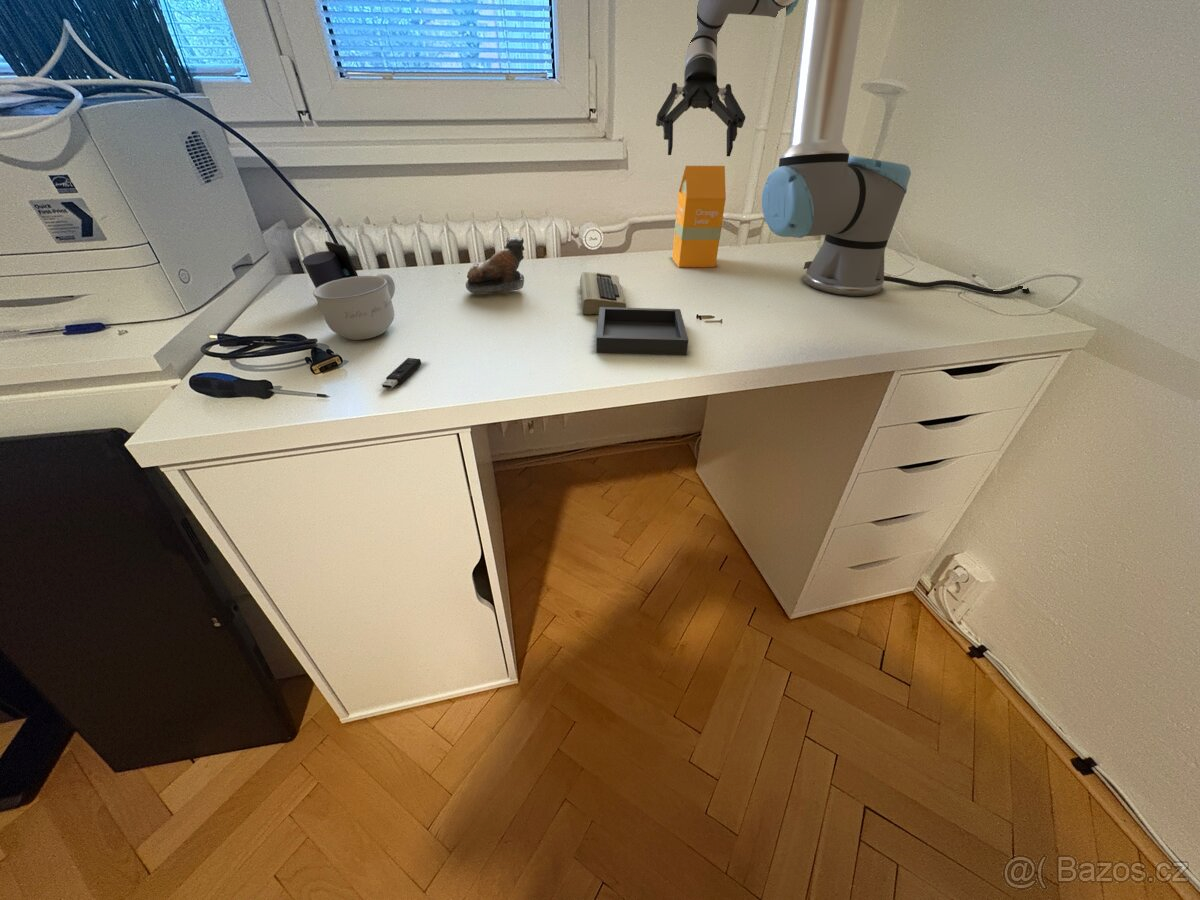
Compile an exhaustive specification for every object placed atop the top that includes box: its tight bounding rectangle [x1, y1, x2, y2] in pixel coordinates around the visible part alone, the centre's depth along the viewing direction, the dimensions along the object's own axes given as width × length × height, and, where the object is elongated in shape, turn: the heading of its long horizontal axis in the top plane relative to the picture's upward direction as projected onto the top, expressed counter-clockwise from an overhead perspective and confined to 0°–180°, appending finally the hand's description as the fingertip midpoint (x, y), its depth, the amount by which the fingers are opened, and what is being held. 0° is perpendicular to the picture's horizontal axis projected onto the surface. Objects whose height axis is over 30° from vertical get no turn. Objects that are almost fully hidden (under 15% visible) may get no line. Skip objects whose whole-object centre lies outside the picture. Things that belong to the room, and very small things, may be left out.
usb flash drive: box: [381, 357, 422, 389], centre depth 67 cm, size 8×2×1 cm, turn 170°
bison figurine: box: [465, 236, 526, 295], centre depth 93 cm, size 12×7×10 cm, turn 103°
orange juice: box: [671, 165, 727, 268], centre depth 109 cm, size 8×9×20 cm
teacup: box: [312, 273, 396, 341], centre depth 78 cm, size 14×11×8 cm
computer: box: [579, 271, 627, 315], centre depth 93 cm, size 16×8×3 cm, turn 3°
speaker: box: [301, 240, 359, 289], centre depth 88 cm, size 8×6×10 cm
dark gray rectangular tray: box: [595, 307, 689, 356], centre depth 79 cm, size 14×13×2 cm
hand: (699, 151), depth 110 cm, fingers open, 13 cm apart
